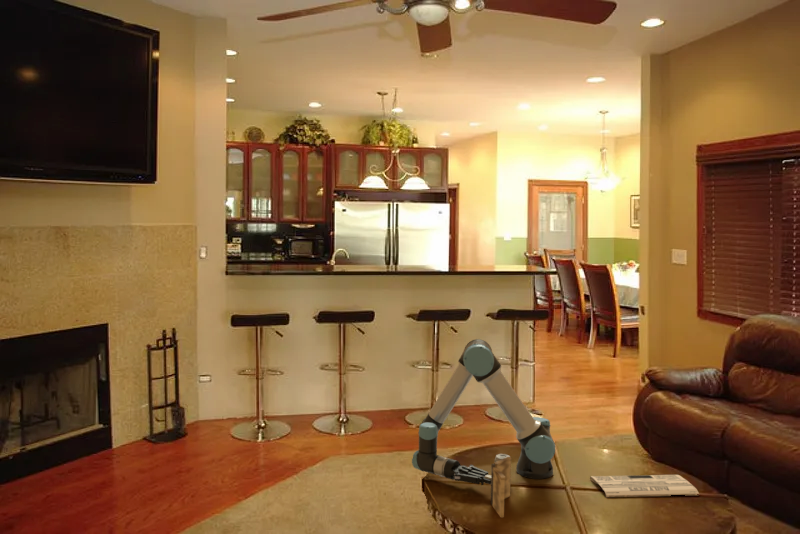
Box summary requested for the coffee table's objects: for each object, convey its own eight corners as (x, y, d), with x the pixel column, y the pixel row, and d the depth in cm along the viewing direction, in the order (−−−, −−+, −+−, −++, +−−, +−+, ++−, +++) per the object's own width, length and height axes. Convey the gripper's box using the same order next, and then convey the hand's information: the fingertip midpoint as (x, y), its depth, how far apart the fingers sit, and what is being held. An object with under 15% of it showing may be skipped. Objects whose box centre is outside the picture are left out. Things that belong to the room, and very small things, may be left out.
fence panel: (493, 505, 240) (494, 465, 239) (489, 503, 241) (490, 464, 240) (510, 496, 248) (511, 457, 247) (507, 494, 249) (507, 456, 248)
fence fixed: (491, 507, 239) (492, 467, 238) (496, 506, 240) (496, 467, 239) (500, 518, 230) (501, 477, 229) (504, 518, 231) (505, 477, 230)
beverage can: (511, 483, 263) (512, 454, 262) (508, 489, 257) (509, 459, 256) (495, 481, 265) (496, 452, 264) (492, 487, 259) (493, 457, 258)
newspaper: (676, 479, 270) (676, 472, 270) (701, 499, 251) (701, 492, 251) (589, 480, 268) (589, 474, 267) (607, 501, 248) (608, 494, 248)
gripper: (456, 472, 266) (508, 486, 252) (438, 482, 255) (492, 498, 241) (456, 454, 265) (509, 467, 251) (438, 463, 254) (492, 478, 240)
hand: (500, 482), depth 246 cm, fingers closed
